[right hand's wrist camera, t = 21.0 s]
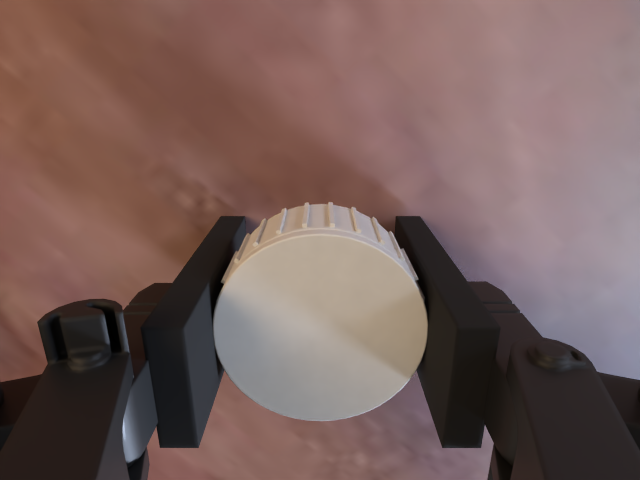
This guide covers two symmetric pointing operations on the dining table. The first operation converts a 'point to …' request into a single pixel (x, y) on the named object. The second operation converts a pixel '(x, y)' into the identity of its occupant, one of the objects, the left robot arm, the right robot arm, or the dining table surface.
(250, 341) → the lid
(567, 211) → the dining table surface
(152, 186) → the dining table surface
